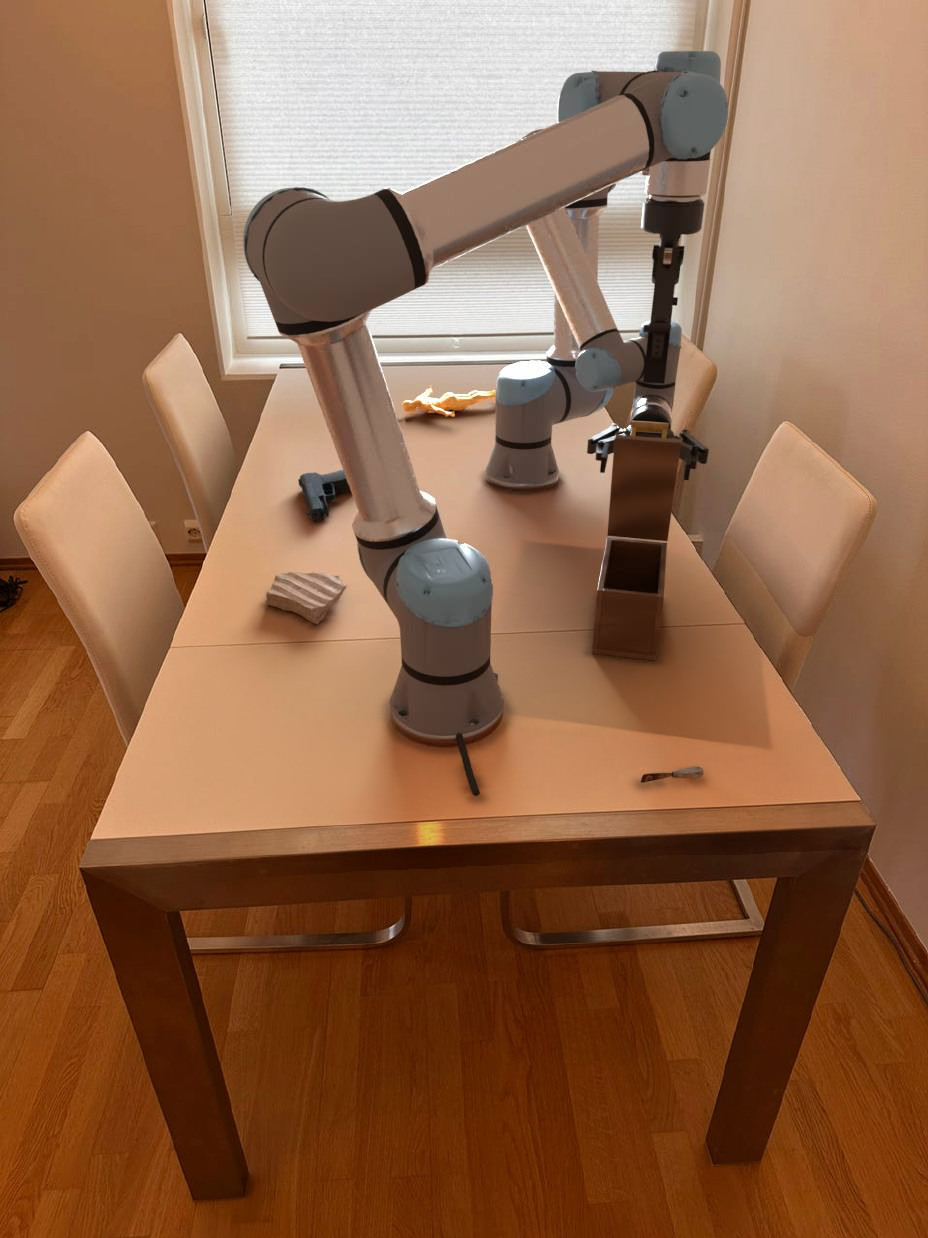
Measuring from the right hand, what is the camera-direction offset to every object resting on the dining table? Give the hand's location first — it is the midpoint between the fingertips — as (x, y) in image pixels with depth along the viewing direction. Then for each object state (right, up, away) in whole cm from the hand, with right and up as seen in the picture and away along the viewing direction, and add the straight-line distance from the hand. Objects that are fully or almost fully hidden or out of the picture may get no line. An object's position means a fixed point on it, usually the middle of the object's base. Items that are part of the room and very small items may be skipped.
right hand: (644, 468), depth 145 cm
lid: (-3, -5, -12) cm, 13 cm away
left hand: (-3, +10, -23) cm, 25 cm away
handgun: (-56, -1, +34) cm, 65 cm away
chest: (-4, -26, -6) cm, 27 cm away
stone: (-55, -22, 0) cm, 60 cm away
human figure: (-33, +28, +80) cm, 91 cm away
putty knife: (-4, -44, -36) cm, 57 cm away
